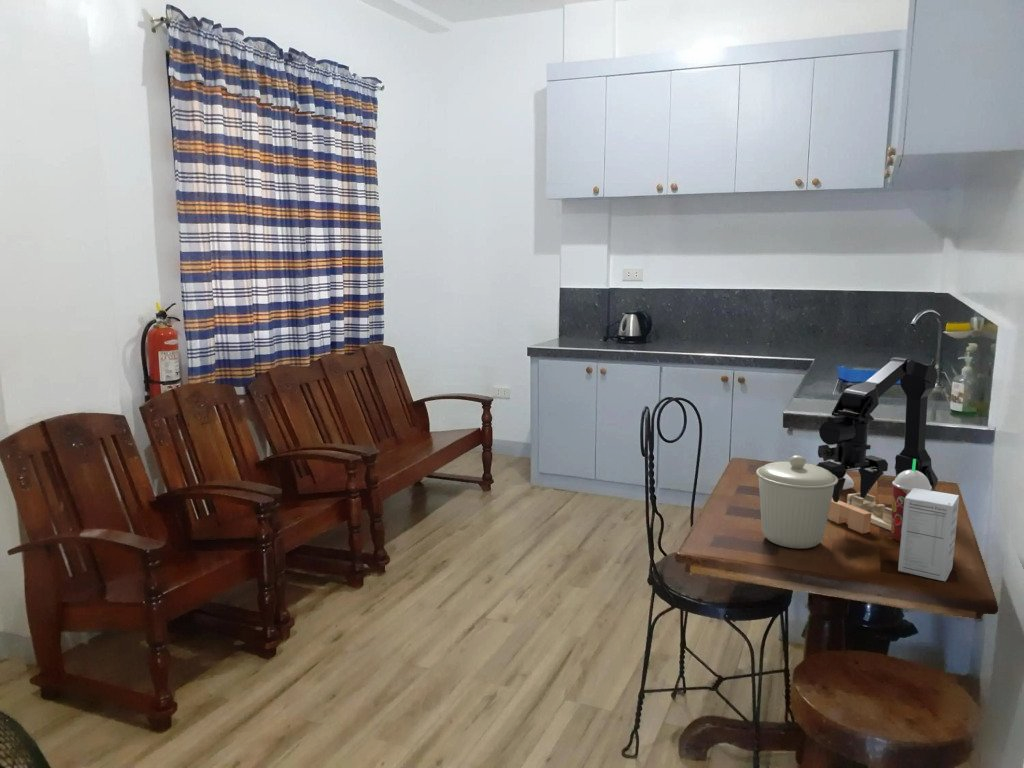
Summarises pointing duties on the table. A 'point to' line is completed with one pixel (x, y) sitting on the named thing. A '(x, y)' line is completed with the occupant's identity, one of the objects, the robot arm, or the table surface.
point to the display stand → (872, 509)
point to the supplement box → (928, 533)
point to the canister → (795, 502)
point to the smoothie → (901, 490)
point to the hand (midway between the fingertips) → (849, 499)
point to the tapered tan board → (850, 516)
